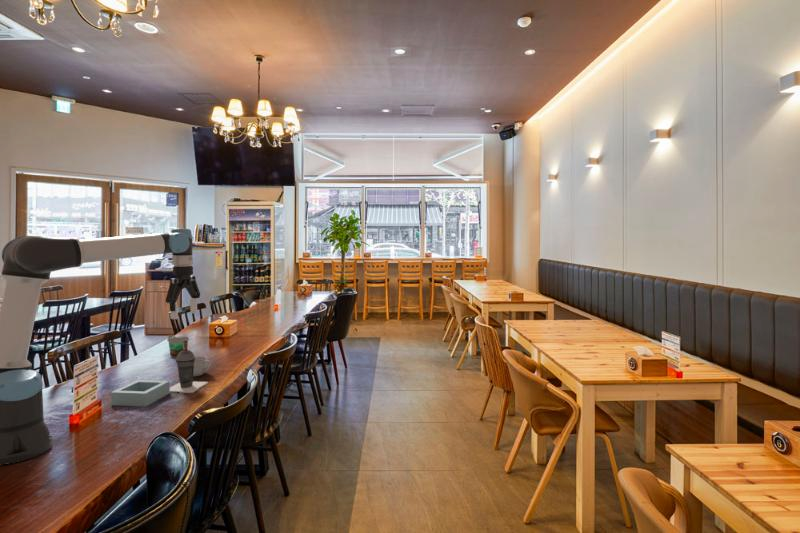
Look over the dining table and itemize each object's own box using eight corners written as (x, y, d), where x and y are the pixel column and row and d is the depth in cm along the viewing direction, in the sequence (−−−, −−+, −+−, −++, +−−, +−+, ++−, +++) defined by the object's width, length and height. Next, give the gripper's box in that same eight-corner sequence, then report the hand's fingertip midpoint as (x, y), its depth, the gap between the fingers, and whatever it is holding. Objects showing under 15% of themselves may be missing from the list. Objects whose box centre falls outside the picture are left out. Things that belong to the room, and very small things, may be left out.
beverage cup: (188, 389, 175) (186, 342, 173) (172, 388, 176) (171, 341, 175) (199, 384, 182) (198, 338, 181) (185, 382, 183) (183, 337, 182)
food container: (162, 355, 229) (161, 337, 229) (171, 352, 235) (170, 334, 235) (180, 357, 226) (179, 338, 225) (189, 354, 232) (188, 336, 231)
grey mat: (192, 393, 173) (191, 391, 173) (164, 392, 174) (164, 390, 174) (208, 383, 185) (208, 381, 185) (182, 382, 186) (182, 380, 186)
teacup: (177, 376, 194) (176, 359, 194) (198, 370, 204) (197, 353, 203) (197, 381, 188) (196, 363, 187) (217, 374, 197) (217, 357, 197)
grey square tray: (145, 406, 159) (145, 393, 158) (111, 405, 160) (110, 392, 160) (169, 393, 173) (169, 381, 172) (137, 392, 174) (137, 380, 174)
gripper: (172, 267, 163) (174, 321, 165) (207, 264, 188) (209, 311, 189) (154, 267, 164) (156, 321, 165) (191, 263, 189) (193, 310, 190)
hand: (184, 316), depth 177 cm, fingers open, 13 cm apart
